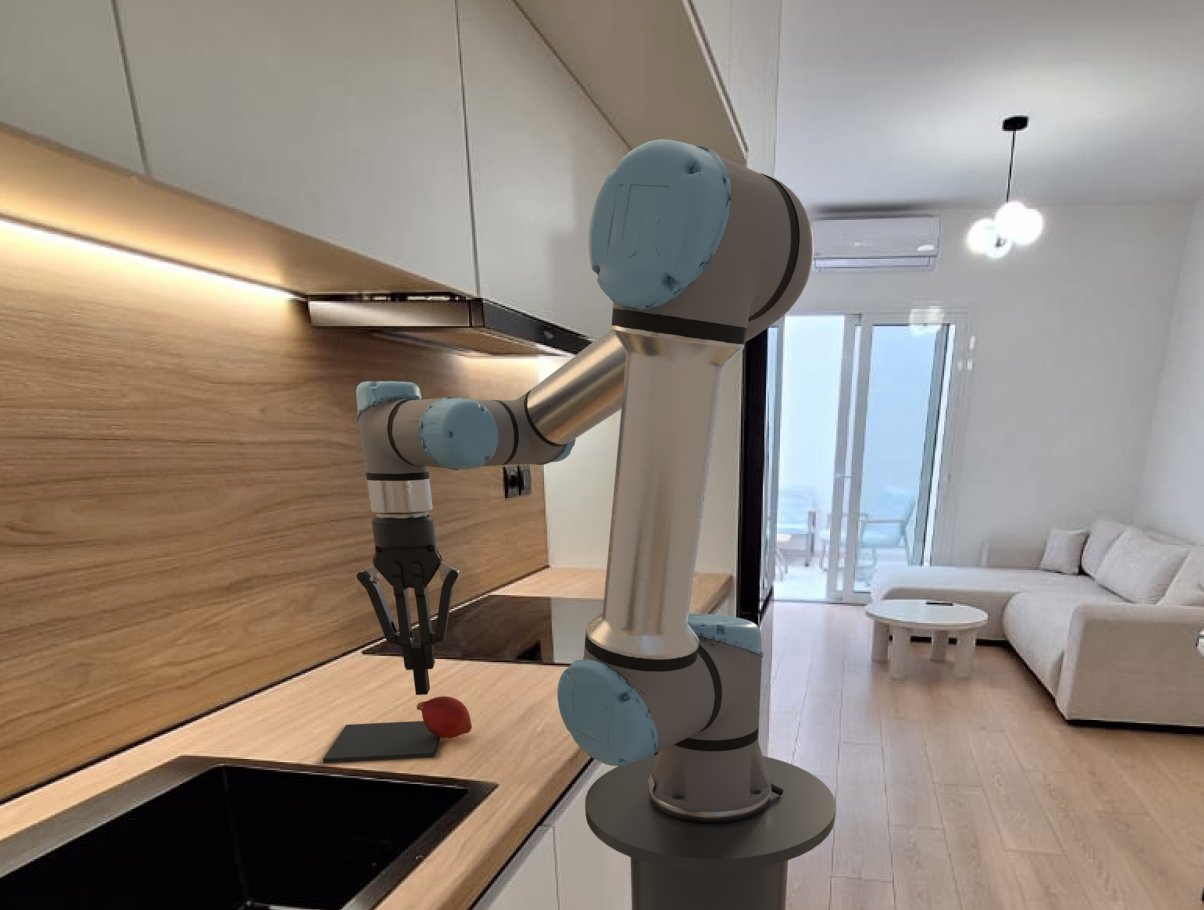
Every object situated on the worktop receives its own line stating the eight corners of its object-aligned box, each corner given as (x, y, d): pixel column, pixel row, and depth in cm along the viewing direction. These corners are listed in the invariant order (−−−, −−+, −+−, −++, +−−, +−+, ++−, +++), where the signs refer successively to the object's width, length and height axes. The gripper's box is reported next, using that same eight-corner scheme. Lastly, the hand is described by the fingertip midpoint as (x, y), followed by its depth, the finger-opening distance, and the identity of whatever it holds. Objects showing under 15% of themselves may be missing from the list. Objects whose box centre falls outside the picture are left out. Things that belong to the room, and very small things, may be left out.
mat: (445, 723, 119) (445, 719, 119) (434, 756, 107) (433, 752, 107) (346, 728, 117) (346, 724, 117) (323, 762, 105) (322, 758, 105)
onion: (469, 729, 117) (417, 704, 115) (484, 703, 114) (431, 676, 112) (457, 755, 113) (403, 729, 110) (473, 729, 109) (418, 702, 107)
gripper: (458, 510, 107) (474, 681, 115) (355, 512, 105) (379, 685, 113) (451, 517, 100) (469, 698, 108) (341, 518, 98) (367, 702, 106)
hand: (423, 691), depth 111 cm, fingers closed
